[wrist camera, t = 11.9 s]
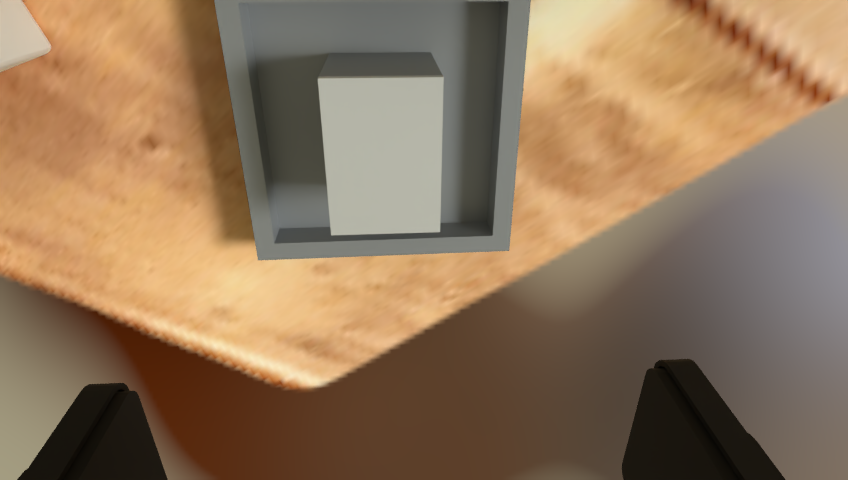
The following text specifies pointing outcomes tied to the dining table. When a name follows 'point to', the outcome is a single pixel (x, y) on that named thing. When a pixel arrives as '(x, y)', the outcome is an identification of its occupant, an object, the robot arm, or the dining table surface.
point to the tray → (302, 129)
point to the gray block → (382, 142)
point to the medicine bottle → (19, 35)
